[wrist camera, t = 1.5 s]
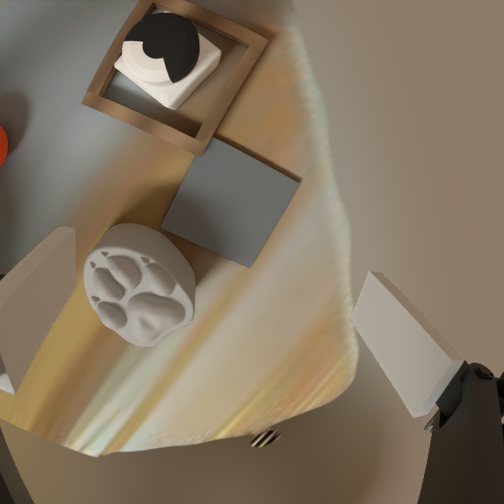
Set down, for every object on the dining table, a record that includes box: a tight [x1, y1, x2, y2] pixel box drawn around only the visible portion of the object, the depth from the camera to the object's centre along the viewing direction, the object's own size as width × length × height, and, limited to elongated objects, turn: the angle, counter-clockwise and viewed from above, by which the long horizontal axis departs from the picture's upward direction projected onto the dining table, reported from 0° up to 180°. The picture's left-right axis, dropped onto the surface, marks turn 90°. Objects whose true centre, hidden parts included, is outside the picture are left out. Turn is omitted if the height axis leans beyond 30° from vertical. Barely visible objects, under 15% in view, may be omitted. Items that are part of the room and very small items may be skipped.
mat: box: [161, 137, 299, 268], centre depth 37 cm, size 12×12×1 cm
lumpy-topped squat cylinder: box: [83, 223, 195, 347], centre depth 34 cm, size 10×13×9 cm
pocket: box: [81, 0, 269, 157], centre depth 29 cm, size 15×15×2 cm
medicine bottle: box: [114, 11, 221, 110], centre depth 24 cm, size 7×7×12 cm
